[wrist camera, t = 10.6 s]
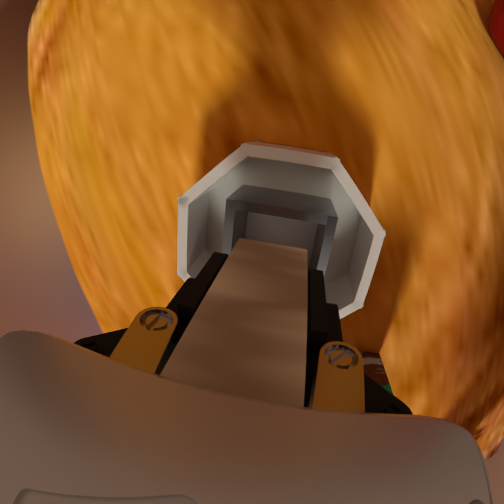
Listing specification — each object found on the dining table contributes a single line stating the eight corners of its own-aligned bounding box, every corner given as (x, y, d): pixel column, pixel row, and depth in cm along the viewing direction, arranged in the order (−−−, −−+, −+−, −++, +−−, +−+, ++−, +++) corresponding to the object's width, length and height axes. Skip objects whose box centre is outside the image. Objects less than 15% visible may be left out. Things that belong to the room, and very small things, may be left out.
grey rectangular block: (307, 249, 12) (300, 445, 4) (294, 306, 14) (272, 489, 5) (239, 237, 13) (141, 407, 4) (233, 295, 14) (162, 463, 6)
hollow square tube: (330, 198, 17) (338, 217, 14) (313, 277, 20) (315, 311, 16) (243, 184, 18) (226, 198, 14) (235, 263, 20) (218, 293, 16)
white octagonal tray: (379, 162, 17) (401, 171, 12) (341, 310, 21) (347, 349, 17) (207, 135, 18) (180, 137, 14) (198, 284, 22) (177, 317, 18)
